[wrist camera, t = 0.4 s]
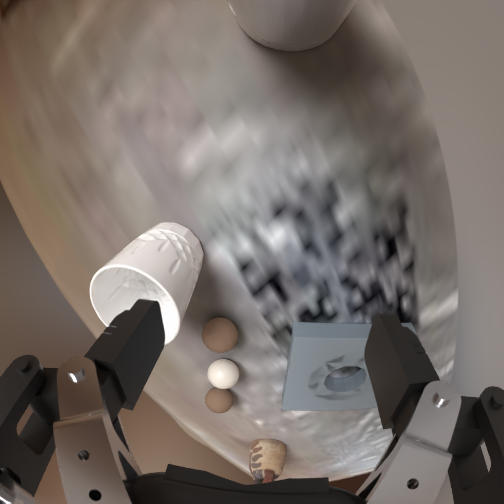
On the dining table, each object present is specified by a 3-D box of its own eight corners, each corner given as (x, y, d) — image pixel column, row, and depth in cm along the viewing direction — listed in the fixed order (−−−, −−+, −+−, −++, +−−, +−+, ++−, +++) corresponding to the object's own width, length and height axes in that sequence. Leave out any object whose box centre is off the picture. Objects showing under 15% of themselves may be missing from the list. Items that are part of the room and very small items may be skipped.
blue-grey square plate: (293, 321, 32) (293, 336, 29) (411, 322, 30) (418, 336, 28) (282, 396, 38) (281, 410, 36) (377, 394, 37) (379, 407, 35)
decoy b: (206, 380, 38) (201, 401, 34) (234, 383, 38) (230, 405, 34) (209, 395, 40) (204, 415, 36) (235, 398, 39) (231, 419, 36)
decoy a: (205, 308, 32) (196, 332, 28) (240, 311, 32) (235, 335, 28) (207, 334, 34) (200, 357, 30) (240, 337, 33) (235, 361, 30)
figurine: (245, 448, 48) (238, 497, 38) (256, 435, 45) (250, 491, 34) (278, 453, 49) (274, 502, 38) (291, 441, 45) (289, 495, 35)
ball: (209, 351, 35) (203, 374, 31) (240, 354, 35) (236, 378, 31) (212, 370, 37) (206, 392, 33) (241, 373, 36) (237, 396, 33)
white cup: (225, 259, 29) (201, 324, 20) (174, 295, 32) (141, 358, 23) (172, 200, 26) (122, 244, 18) (126, 244, 29) (75, 296, 20)
